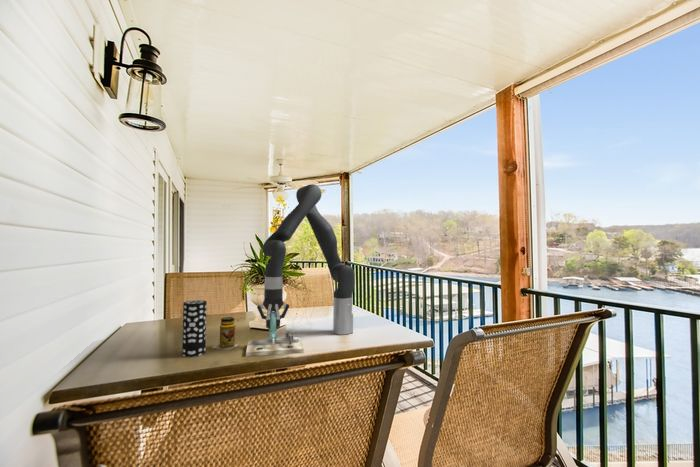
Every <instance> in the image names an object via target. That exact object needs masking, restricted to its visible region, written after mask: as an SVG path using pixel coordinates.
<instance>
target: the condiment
mask: <svg viewBox="0 0 700 467" xmlns="http://www.w3.org/2000/svg"><path fill="white" fill-rule="evenodd" d="M220 321H221V322H220V326H219V344H217V345H214V346H212V347H211V348H212V349H218V350H227V351H228V350H231V349H234V348H236V347H238V346H239V344H236V324H235V318H234V317H233V316H225V317H222V318H221V319H220Z"/></svg>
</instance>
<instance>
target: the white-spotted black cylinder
mask: <svg viewBox="0 0 700 467" xmlns="http://www.w3.org/2000/svg"><path fill="white" fill-rule="evenodd" d="M207 304H208V303H207V301H206V300H198V299H197V300H187V301H183V304H182V307H183V309H182V310H183V311H182V338H181V339H182V343H181V344H182V345H181V355H182V356H183V357H186V358H192V357H193V358H194V357H200V356H203V355H205V354H206V346H207V345H206V343H207V341H206V340H207Z"/></svg>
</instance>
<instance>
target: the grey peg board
mask: <svg viewBox="0 0 700 467" xmlns="http://www.w3.org/2000/svg"><path fill="white" fill-rule="evenodd" d="M293 330H294V329H288V330H285V336H284V337H279V338H278V337H277V340H274V346H273V345H272V340H269V338H264V339H263V338H262V339H260V338H259V339H250V340H249V341H248V342H247V345H246V346H247V347H246V352H245V357H256V356H271V355H272V356H273V355H284V354H285V355H286V354H297V353H298V354H299V353H300V354H302V353H304V351H305V350H304V346H303V343H302V340H301V339H300V338H299V337H298V336H297V337H295V336H294V331H293Z"/></svg>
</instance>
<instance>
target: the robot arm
mask: <svg viewBox="0 0 700 467" xmlns="http://www.w3.org/2000/svg"><path fill="white" fill-rule="evenodd" d="M295 196H296V200H297V203H298V204H297V205H296V206H295V207H294V208H293V210H291V211H290V212H289V213H288V214H287V216H286V217H284V219H283V220H282V221H281V222H280V224H279V226H278V228H276V230H275V231H274V232H273V233H272V234H271V235H270V236H269V237H268V238H267V239H266V240H265V241H264V243H263V245H262V252H263V254H264V256H267V257H270V261H269V262H268V263H266V264H265V272H264V275H265V277H264V278H265V279H264V286H263V287H264V288H263V289H264V298H263V302H262V303H261V304H257V305H256V309H257V310H258V313H259V315H260V317H261V319H262V320H265V327H266V328H267V330H269V328H270V312H276V314H277V330H278V329H279V328H280V327H281V319H284V318H285V317H286V315H287V312H288V311H289V307H290V303H285V302H284V300H283V294H284V291H283V288H284V285H283V284H284V281H283V266H284V262H285V258H286V255H287V254H286V253H287V247H286V244H285V242H288V241H289V240H291V238H292V237H293V235H294V233H295V232H296V231H297V229H298V227H299V226H300V225H301V223H302V222H303V220H304V219H305V218H306V219H307V221H308V223H309V225H310V228H311V229H312V232H313V234H314V238H315V239H316V242H317V244H318V246H319V248H320V250H321V252H322V255H323V257H324V259H325V261H326V264H327V267H328V270H329V273H330V276H331V278H332V280H333V281H334V282H335V283H337V288H336V289H335V290H334V291H333V299H332V300H333V307H332V308H333V310H332V311H333V312H332V313H333V314H332V315H333V316H332V318H333V319H332V320H333V321H332V323H333V324H332V326H333V327H332V331H333V332H332V333H333V334H336V335H350V334H353V333H354V313H353V294H354V290H355V271H354V268H353V267H352V266H351V265H349V264H343V262H342V260H341V258H340V256H339V251H338V239H337V236H336V233H335V231H334V229H333V226H332V225H331V224H330V223H329V222H328V220H327V219H325V218H324V216H323V215H322V214H321V213H320V212H319V210H318V208H317V206H316V205H317V204H318V203H319V201H321V198H322V190H321V187H319V186H318V185H317V184H314V183H312V184H307V185H305V186H302V187H299V188H298V189H297V191H296V193H295ZM282 307H283V311H282V313H280V309H281V308H282ZM264 308H265V310H266V315H265V314H264V311H263V309H264Z"/></svg>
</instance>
